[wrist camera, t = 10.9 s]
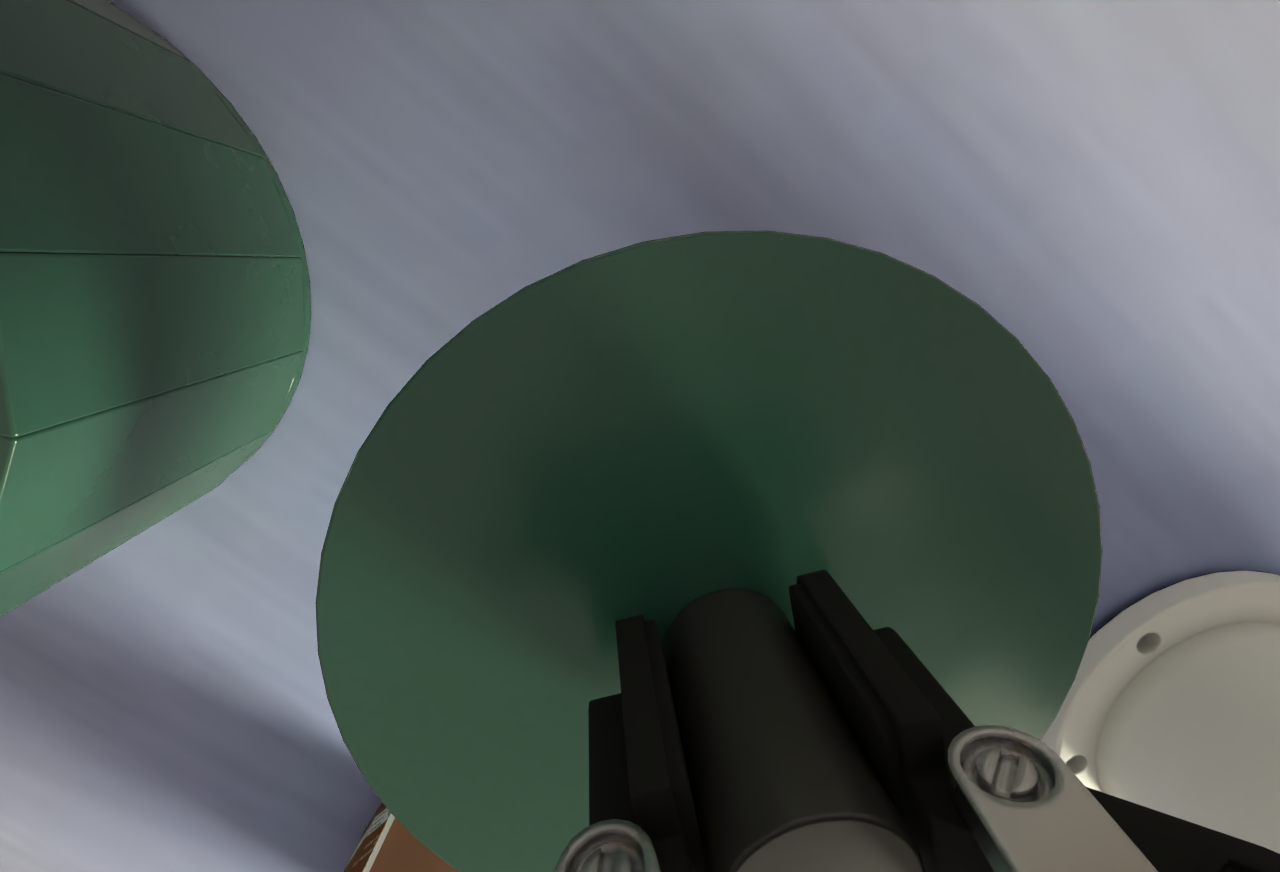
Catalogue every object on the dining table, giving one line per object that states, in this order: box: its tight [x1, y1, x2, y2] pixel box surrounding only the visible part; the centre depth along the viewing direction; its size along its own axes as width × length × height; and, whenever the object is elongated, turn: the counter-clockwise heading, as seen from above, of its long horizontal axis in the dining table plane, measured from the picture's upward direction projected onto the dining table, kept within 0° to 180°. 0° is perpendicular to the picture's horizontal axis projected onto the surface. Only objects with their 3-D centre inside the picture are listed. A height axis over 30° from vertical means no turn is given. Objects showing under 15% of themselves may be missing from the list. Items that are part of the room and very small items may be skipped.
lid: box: [316, 230, 1103, 872], centre depth 10 cm, size 16×16×6 cm
